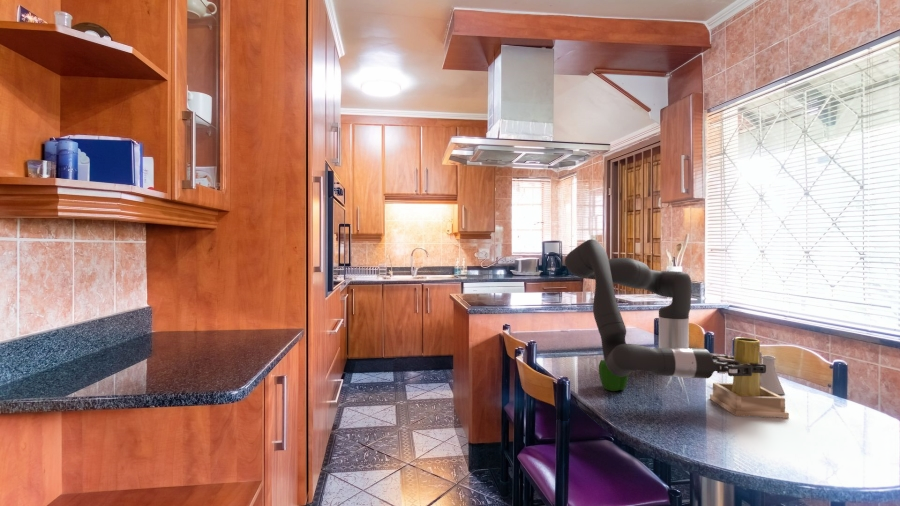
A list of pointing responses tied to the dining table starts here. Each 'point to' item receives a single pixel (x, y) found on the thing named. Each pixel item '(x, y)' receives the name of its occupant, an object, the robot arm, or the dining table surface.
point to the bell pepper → (611, 378)
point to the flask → (771, 376)
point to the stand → (749, 401)
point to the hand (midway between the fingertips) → (756, 365)
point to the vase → (747, 353)
